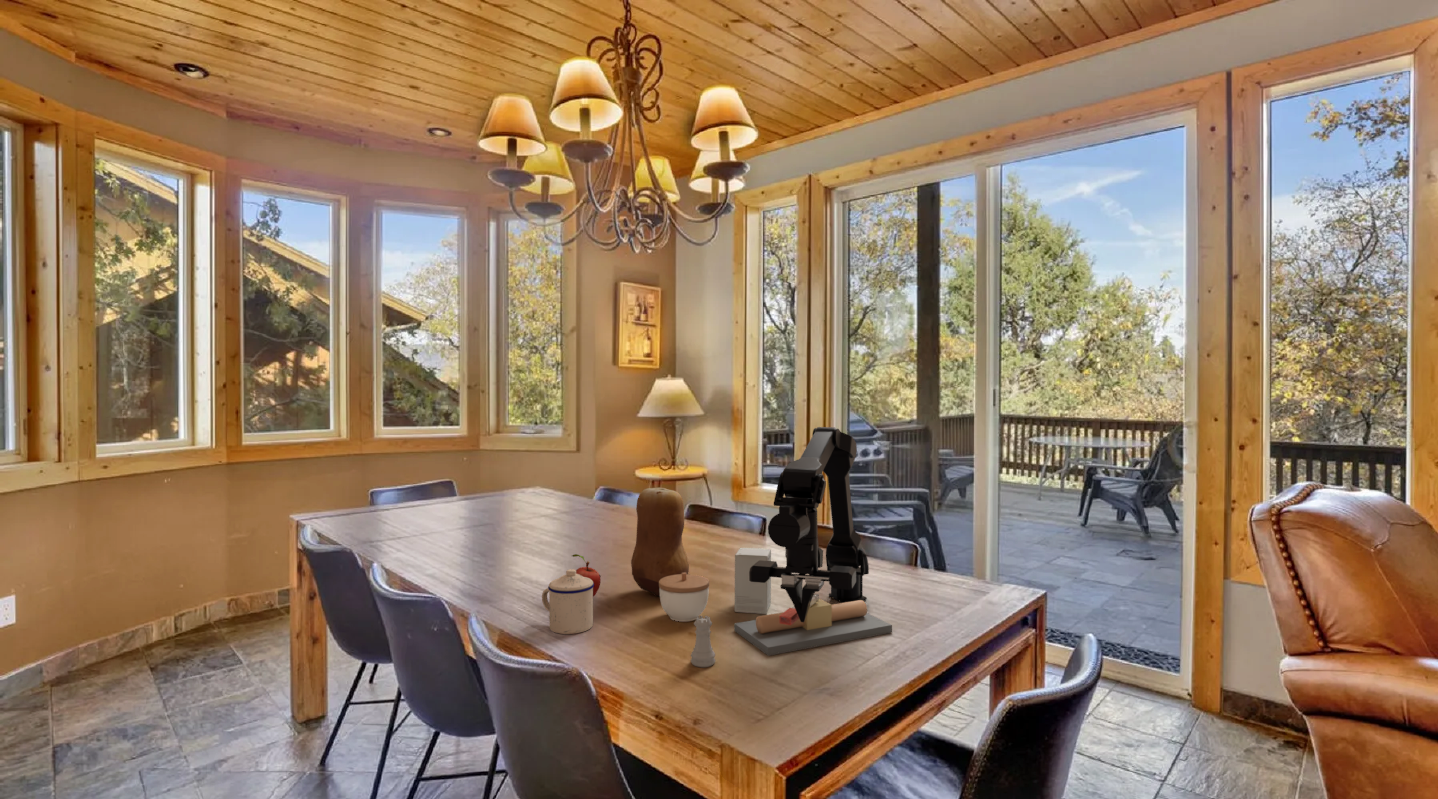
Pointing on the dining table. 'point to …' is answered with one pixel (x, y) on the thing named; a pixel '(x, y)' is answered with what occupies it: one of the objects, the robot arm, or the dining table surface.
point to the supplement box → (751, 593)
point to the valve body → (813, 628)
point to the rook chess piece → (703, 644)
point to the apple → (589, 575)
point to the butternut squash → (658, 538)
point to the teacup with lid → (570, 603)
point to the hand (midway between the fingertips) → (802, 621)
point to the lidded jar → (684, 596)
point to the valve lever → (794, 613)
